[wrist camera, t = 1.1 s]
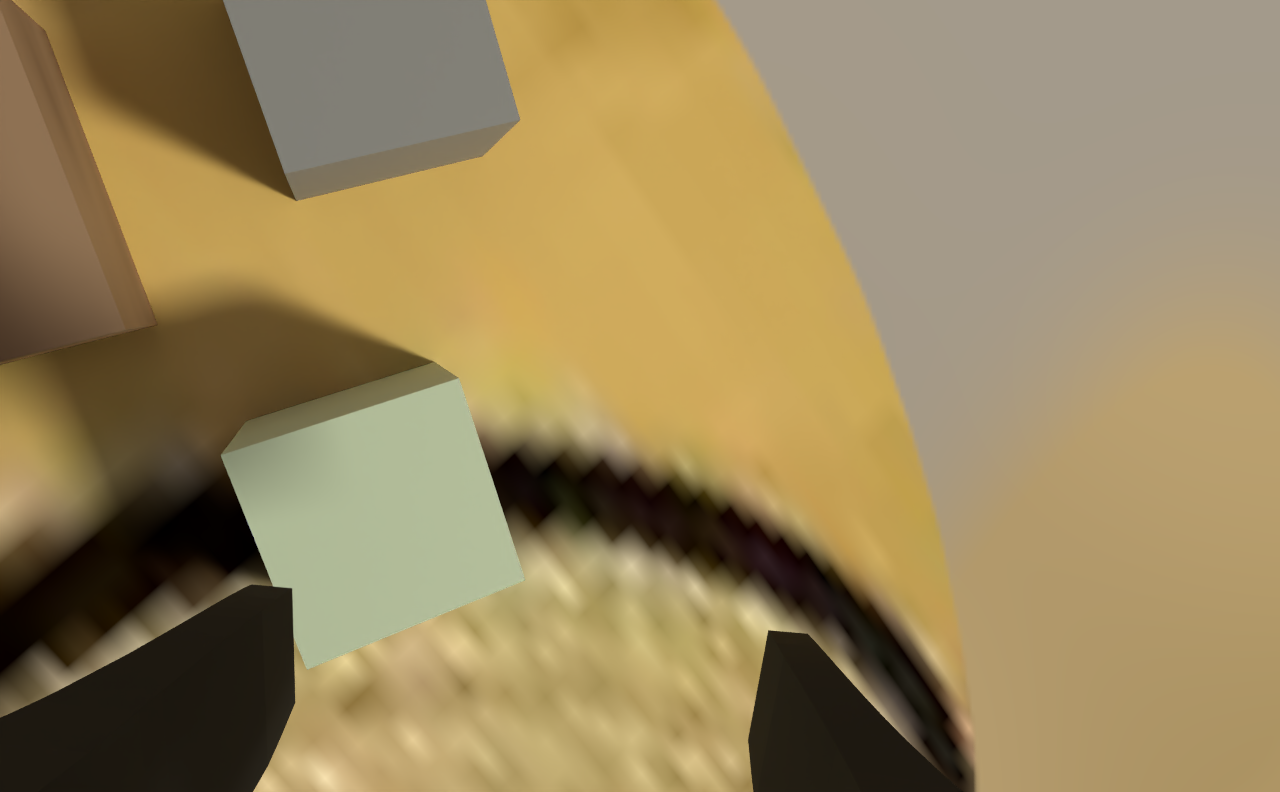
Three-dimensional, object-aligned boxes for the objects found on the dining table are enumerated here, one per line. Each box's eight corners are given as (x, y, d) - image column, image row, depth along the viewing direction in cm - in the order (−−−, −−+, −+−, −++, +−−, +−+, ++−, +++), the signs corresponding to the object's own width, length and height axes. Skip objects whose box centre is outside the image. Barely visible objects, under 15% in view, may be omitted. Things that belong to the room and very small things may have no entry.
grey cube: (296, 201, 21) (284, 173, 16) (224, -2, 20) (189, -94, 15) (481, 156, 22) (520, 120, 18) (424, -35, 21) (448, -126, 17)
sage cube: (313, 591, 22) (306, 669, 17) (246, 420, 21) (220, 455, 16) (488, 524, 24) (525, 580, 19) (433, 361, 23) (459, 378, 18)
